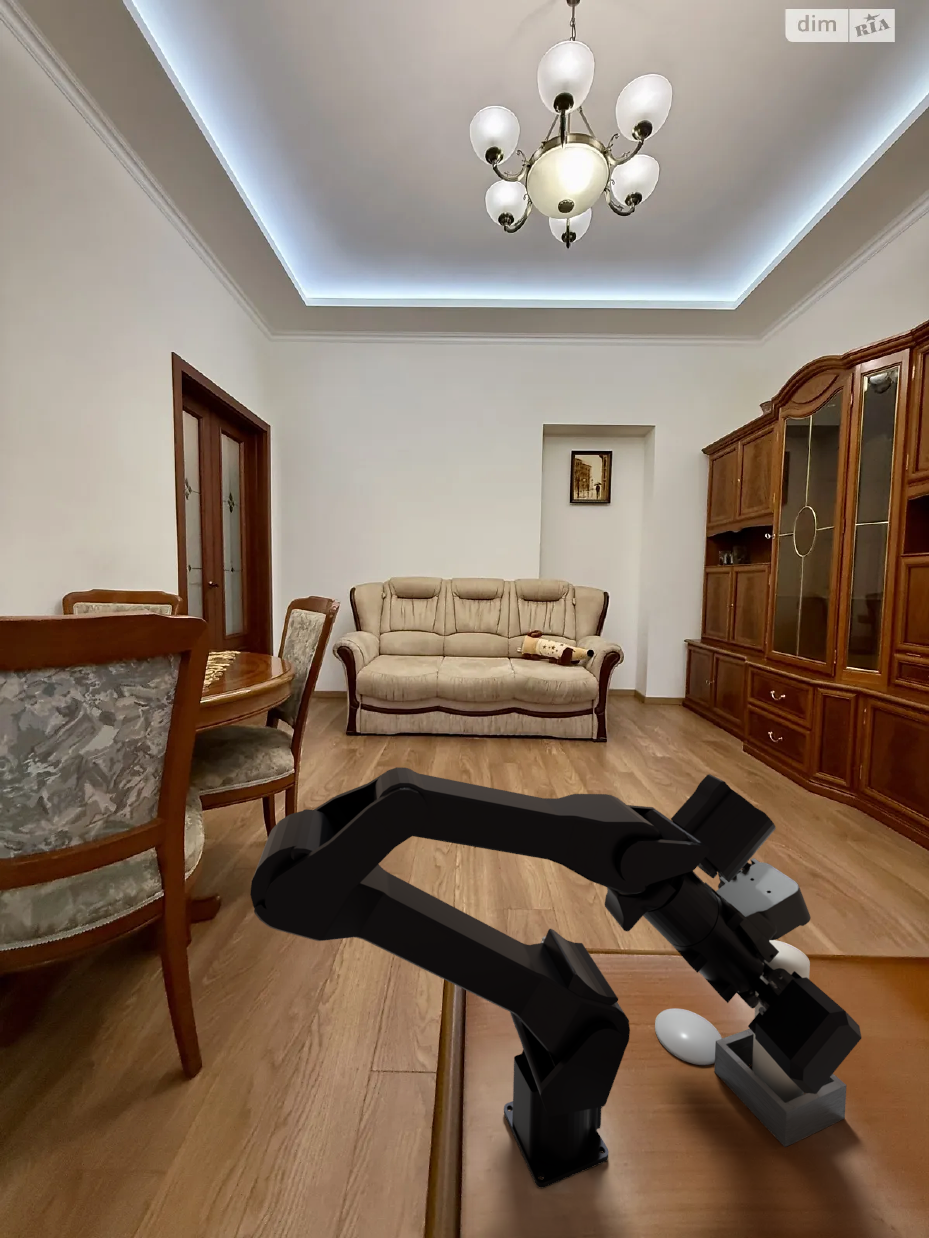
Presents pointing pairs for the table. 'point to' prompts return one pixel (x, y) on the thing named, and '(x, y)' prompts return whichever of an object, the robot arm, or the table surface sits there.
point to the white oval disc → (687, 1036)
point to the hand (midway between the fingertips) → (793, 1021)
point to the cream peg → (762, 1060)
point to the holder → (777, 1116)
